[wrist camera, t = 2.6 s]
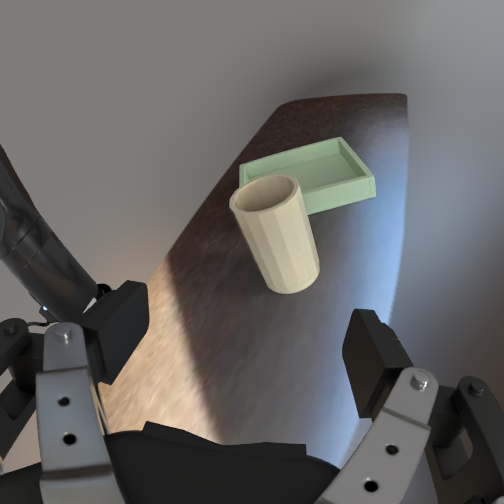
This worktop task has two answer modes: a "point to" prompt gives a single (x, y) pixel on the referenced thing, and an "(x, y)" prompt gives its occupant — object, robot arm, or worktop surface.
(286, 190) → the cup
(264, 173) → the tray
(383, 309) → the worktop surface
